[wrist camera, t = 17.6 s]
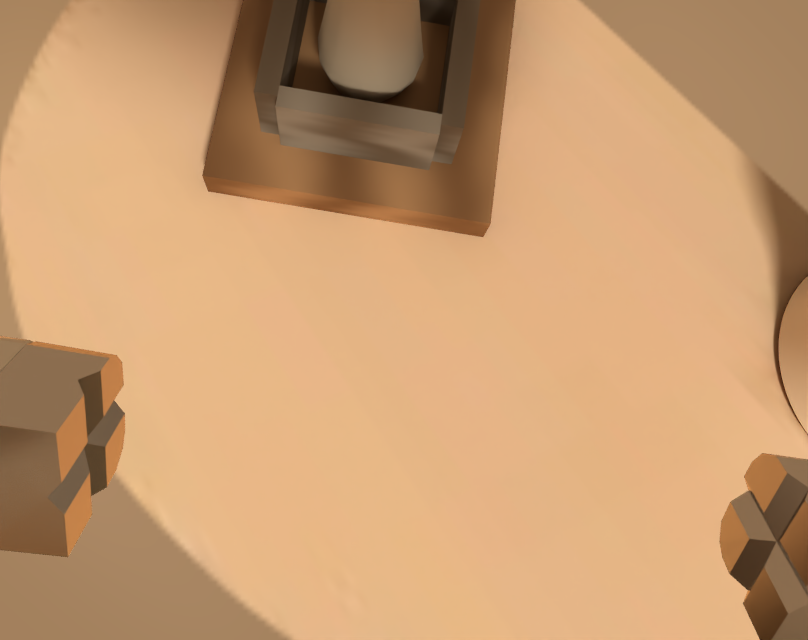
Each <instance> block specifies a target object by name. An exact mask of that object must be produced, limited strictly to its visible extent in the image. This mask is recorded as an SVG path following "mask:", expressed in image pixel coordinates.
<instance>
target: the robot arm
mask: <svg viewBox="0 0 808 640" xmlns="http://www.w3.org/2000/svg"><path fill="white" fill-rule="evenodd" d="M779 363H780V370H781V376H782V380H783V384H784V387H785V391H786V394H787V396H788V399H789V401H790V404H791V406H792V408H793V410H794V412H795V414H796V416H797V418H798V420H799V421H800V423H801V425H802V426H803V428H804V429H805V431H806V432H807V433H808V276H807V277H806V278H805V279H804V280H803V281H802V282H801V284H800V285H799V286H798V287H797V289H796V290H795V292H794V293H793V295H792V297H791V299H790V300H789V303H788V305H787V307H786V310H785V312H784V315H783V319H782V323H781V328H780V334H779ZM123 385H124V381H123V368H122V361H121V360H120V359H119V358H118V356H117V355H113V354H107V353H101V352H95V351H89V350H84V349H78V348H72V347H66V346H60V345H54V344H49V343H43V342H37V341H36V342H33V341H30V340H24V339H18V338H11V337H4V336H0V550H5V551H14V552H24V553H33V554H43V555H52V556H61V557H69V555H70V553H71V551H72V549H73V548H74V546H75V544H76V542H77V541H78V539H79V537H80V535H81V533H82V532H83V530H84V528H85V526H86V524H87V523H88V521H89V519H90V517H91V516H92V502H91V496H92V495H94V494H96V493H98V492H99V491H101V490H103V489H105V488H107V486H108V484H109V482H110V481H111V479H112V477H113V475H114V473H115V471H116V469H117V465H118V462H119V459H120V456H121V452H122V449H123V443H124V434H125V413H124V412H123V411H122V409H121V408H120V407H119V406H118V405H117V403H116V402H115V401H114V399H115V398H116V396H117V395H118V393H119V391H120V390H121V388H122V386H123ZM744 478H745V481H746V484H747V487H748V490H749V491H747V492H746V493H744V494H742V495H741V496H739V497H737V498H736V499H734V500H733V501H731V502H730V504H729V506H728V508H727V510H726V512H725V514H724V517H723V519H722V521H721V530H720V541H719V542H720V547H721V553H722V558H723V560H724V562H725V565H726V567H727V569H728V572H729V574H730V575H731V576H732V577H734V578H735V579H736V580H737V581H738V582H739V583H740V584H741V585H743V586H744V587H745V588H746V589H747V590H748V591H747V594H746V597H745V599H744V602H743V604H744V607H745V609H746V611H747V613H748V615H749V617H750V619H751V622H752V624H753V626H754V628H755V630H756V632H757V634H758V637H759V639H760V640H808V459H800V458H793V457H786V456H779V455H772V454H765V453H762V454H761V455H760V456H758V457H757V458H756V459H755V460H754V461H752V463H751V465H750V467H749V468H748V470H747V472H746V474H745V476H744Z"/></svg>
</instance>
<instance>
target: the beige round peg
mask: <svg viewBox="0 0 808 640" xmlns="http://www.w3.org/2000/svg"><path fill="white" fill-rule="evenodd" d="M318 49H319V60H320V64H321V66H322V68H323V69H324V71H325V73H326V74H327V76H328V78H329V79H330V81H331V82H332V84H333V85H334V86H335V87H336V89H337V90H338V91H339V92H340V93H341V95H343V96H345V97H348V98H354V99H360V100H365V101H371V102H377V103H381V102H383V101H385V100H387V99H389V98H391V97H393V96H396V95H398V94H399V93H400V92H402V91H403V90H404V89H405V88H406V87H408V86H409V85H410V84H411V83H412V82H413V81H414V79H415V77H416V74H417V72H418V70H419V67H420V65H421V63H422V60H423V58H424V56H423V45H422V33H421V18H420V4H419V0H327V4H326V8H325V12H324V15H323V19H322V23H321V27H320V31H319V35H318Z"/></svg>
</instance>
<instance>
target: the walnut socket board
mask: <svg viewBox="0 0 808 640" xmlns="http://www.w3.org/2000/svg"><path fill="white" fill-rule="evenodd" d="M515 1H516V0H419V4H420V18H421V33H422V45H423V56H424V58H423V60H422V63H421V65H420V67H419V70H418V72H417V74H416V77H415V79H414V81H413V82H412V83H411V84H410V85H409V86H408V87H406V88H405V89H404V90H403V91H402V92H400V93H399V94H398V95H396V96H393V97H391V98H389V99H387V100H385V101H383V102H381V103H377V102H371V101H365V100H360V99H354V98H348V97H345V96H343V95H341V93H340V92H339V91H338V90H337V89H336V87H335V86H334V85H333V84H332V82H331V81H330V79H329V78H328V76H327V74H326V73H325V71H324V69H323V68H322V66H321V64H320V60H319V49H318V35H319V31H320V27H321V23H322V19H323V15H324V12H325V8H326V4H327V0H243V3H242V7H241V12H240V16H239V20H238V24H237V29H236V33H235V37H234V42H233V46H232V50H231V55H230V59H229V63H228V67H227V72H226V76H225V80H224V85H223V89H222V93H221V98H220V102H219V106H218V110H217V115H216V119H215V123H214V128H213V132H212V136H211V140H210V145H209V149H208V153H207V158H206V162H205V166H204V171H203V175H202V176H203V179H204V181H205V184H206V186H207V189H208V191H210V192H216V193H222V194H228V195H234V196H240V197H246V198H252V199H258V200H264V201H270V202H276V203H282V204H288V205H294V206H300V207H306V208H312V209H318V210H324V211H330V212H336V213H342V214H348V215H354V216H360V217H366V218H372V219H378V220H384V221H390V222H396V223H402V224H408V225H414V226H420V227H426V228H432V229H438V230H444V231H450V232H456V233H462V234H468V235H474V236H480V237H483V236H484V234H485V233H486V231H487V229H488V227H489V225H490V223H491V214H492V205H493V196H494V187H495V179H496V170H497V161H498V152H499V143H500V134H501V125H502V116H503V108H504V99H505V90H506V81H507V72H508V63H509V54H510V45H511V37H512V28H513V19H514V10H515Z"/></svg>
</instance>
